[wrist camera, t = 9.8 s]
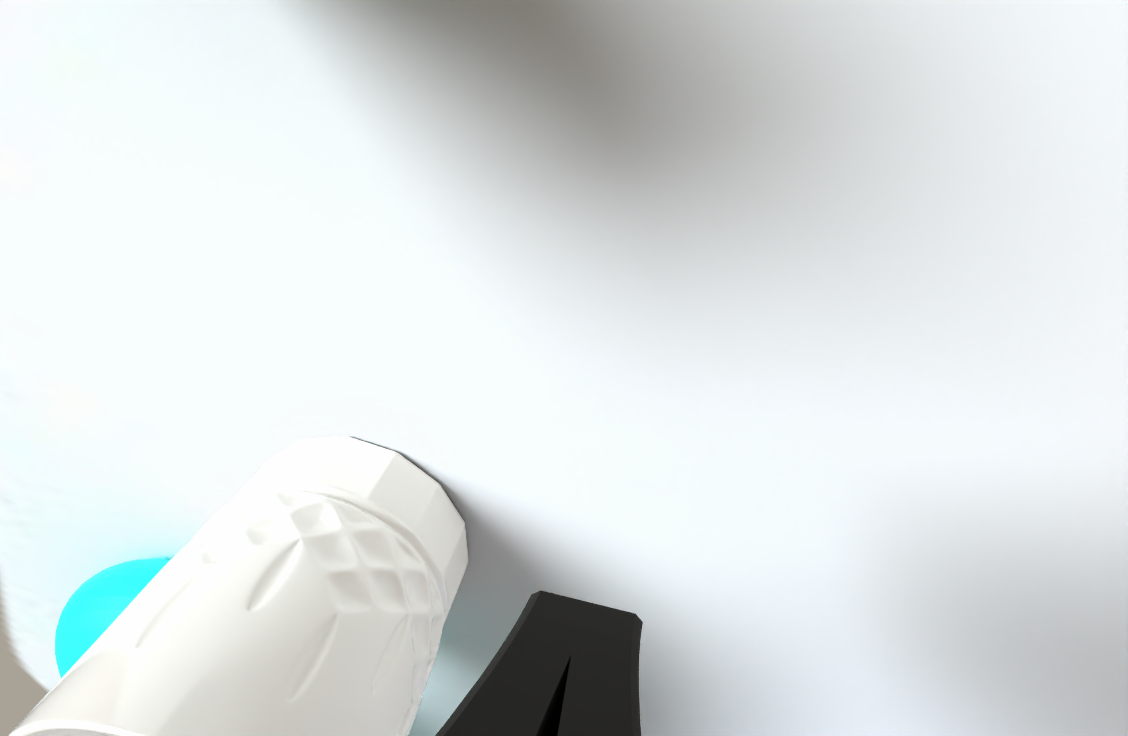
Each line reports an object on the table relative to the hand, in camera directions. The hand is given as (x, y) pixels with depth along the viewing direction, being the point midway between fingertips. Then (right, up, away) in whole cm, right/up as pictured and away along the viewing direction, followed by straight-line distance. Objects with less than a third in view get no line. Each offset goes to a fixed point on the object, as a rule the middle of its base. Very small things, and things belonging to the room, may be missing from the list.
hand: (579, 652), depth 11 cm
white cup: (-6, -1, +15) cm, 17 cm away
